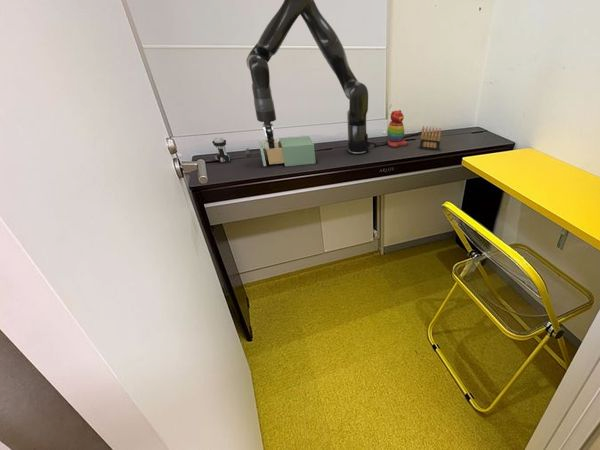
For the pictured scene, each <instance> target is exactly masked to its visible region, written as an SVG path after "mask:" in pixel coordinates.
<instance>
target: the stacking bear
mask: <svg viewBox="0 0 600 450" xmlns="http://www.w3.org/2000/svg"><path fill="white" fill-rule="evenodd" d="M404 118H405V115H404V114H403V112H402V110H400V109H399V110H393V111H391V113H390V122H389V124H388V125H387V130H386V131H387V132H386V134H387V140H386V141H387V142H388V144H387V146H389V147H391V148H398V147H402V146H403V147H405V146H407V145H408V142H407V141H406V139H405V140H404V138H403V137H404V136H405V125H404V123H403V121H404ZM387 142H386V143H387Z"/></svg>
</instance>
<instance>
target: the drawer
mask: <svg viewBox="0 0 600 450" xmlns="http://www.w3.org/2000/svg"><path fill="white" fill-rule="evenodd" d="M258 145H259V148H253V149H252V148H251V149H250V148H245V157H247V158H250V157H251V156H261V160H262V165H263V167H267V161H266V156H267V160H268V165H278V164H284V157H283V150H282V146H281V143H280V141H279V140H278V147H279V148H273V149H267V150H266V155H265V149H264V146H263V145H264V144H263V142H262V141H258ZM257 151H260V152H257ZM251 152H256V153H251Z"/></svg>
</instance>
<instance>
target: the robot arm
mask: <svg viewBox="0 0 600 450" xmlns="http://www.w3.org/2000/svg"><path fill="white" fill-rule="evenodd" d="M299 17H301V18H302V20H303V21H304V23H305V25H306V27H307V28H308V30H309V33H310V34H311V37H312V39H313V40H314V42H315V44H316V45H317V47H318V49H319V51H320V53H321V54H322V56H323V58H324V59H325V61H326V63H327V64H328V65H329V67H330V69H331V71H333V73H334V75H335V76H336V78H337V80H338V82H339V84H340V87H341V89H342V90H343V91H342V92H343V93H344V96H345V97H346V99H348V100H349V105H348V107H349V108H348V110H347V111H346V119H347V151H348V153H349V154H352V155H363V154H366V153H368V152H369V148H371V145H374V147H383V146H386V145H388V142H384V143H379V144H377V143H376V142H375V141H374V142H373V141H370V140H369V134H368V133H367V114H368V112H369V111H368V110H369V90H368V87H367V86H366V84H365V83H362V82H361V81H359V80H358V79H357V77H356V76H355V74H354V72H353V70H352V69H351V67H350V64H349V61H348V57H347V53H346V50H345V47H344V46H343V44H342V42H341V40H340V38H339V37H338V35H337V33H336V31H335V30H334V28H333V27H332V26H331V24H330V23H329V22H328V21H327V20H326V19H325V16H324V15H323V14H322V13H321V12H320V10H319V8H318V6H317V4H316V2H315V0H283V2H282V4H281V6H280V8H279V9H278V10H277V11H276V13H275V14H274V15H273V17H272V18H271V19H270V20H269V22H268V23H267V24H266V26H265V28H264V29H263V31H262V33H261V34H260V37H259V39H258V41H257V43H256V44H255V45H254V47H252V49H251V50H250V52H249V53H248V55H247V57H246V61H245V63H246V67H247V68H248V70H249V72H250V77H251V91H252V96H253V105H254V111H255V116H256V120H257V121H258V122H260V123H262V128H263V131H264V135H265V138H266V140H267V142H268V144H269V149H273V148H275V147H274V137H275V133H274V132H275V131H274V125H273V123H272V122H275V121H276V120H277V116H276V109H275V104H274V99H273V95H272V94H273V93H272V88H271V75H270V67H269V61H271V59H272V57H273V56H275V55H276V54H277V52H278V51H279V50H280V48H281V46H282V45H283V43H284V41H285V39H286V37H287V36H288V33H289V32H290V30H291V29H292V27H293V25H294V24H295V23H296V21H297V19H298V18H299ZM421 133H422V131H418V132H415V133H411V134H406V135H404V137H403V139H405V138H408V137H412V136H413V137H414V136H418V135H419V134H420V135H421Z"/></svg>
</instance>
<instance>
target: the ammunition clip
mask: <svg viewBox="0 0 600 450" xmlns="http://www.w3.org/2000/svg"><path fill="white" fill-rule="evenodd" d="M421 132H422V133H420V141H419V142H420V143H419V149H422V150H423V149H424V150H431V151H440V144H441V137H442V136H441V135H442V128H441V127H439V129H438V127H436V128H435V126H433V127H431V126H429V127H428V126H426V127H425V126H424V125H423V126H422V128H421Z"/></svg>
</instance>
